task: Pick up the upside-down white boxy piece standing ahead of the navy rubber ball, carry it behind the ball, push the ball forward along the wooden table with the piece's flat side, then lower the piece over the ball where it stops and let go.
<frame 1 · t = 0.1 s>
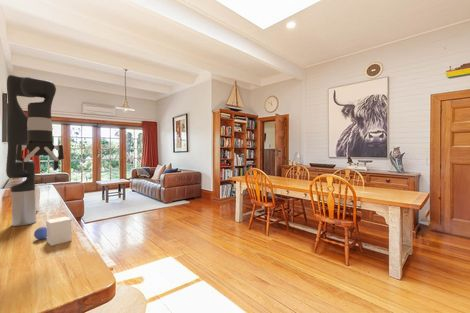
hand: (41, 171, 91), 29 cm above the table, tool pointing down, fingers open, 8 cm apart
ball: (41, 233, 97), on the table
white boxy piece: (59, 241, 94), on the table
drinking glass: (33, 212, 146), on the table
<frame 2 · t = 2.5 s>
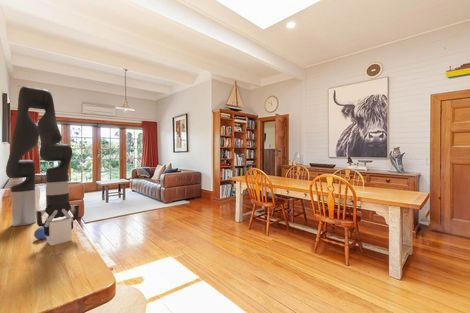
hand: (59, 232, 94), 3 cm above the table, tool pointing down, fingers closed on white boxy piece, 7 cm apart
white boxy piece: (59, 241, 94), on the table, touching gripper
everything else where it was.
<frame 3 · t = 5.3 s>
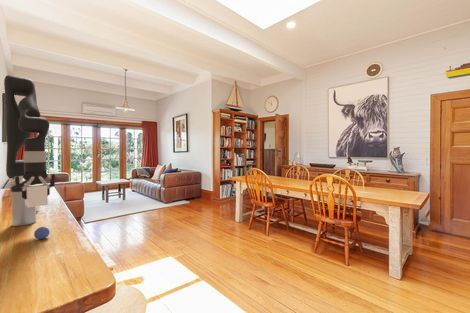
hand: (36, 197, 104), 16 cm above the table, tool pointing down, fingers closed on white boxy piece, 7 cm apart
white boxy piece: (36, 204, 104), point 13 cm above the table, touching gripper
everything else where it was.
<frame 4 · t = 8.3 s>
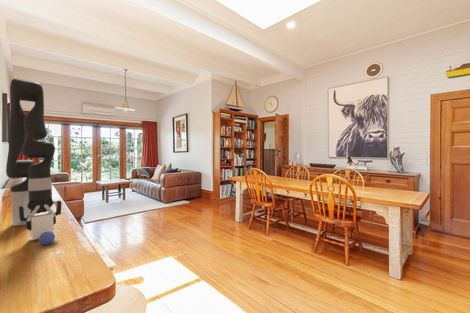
hand: (41, 227, 97), 5 cm above the table, tool pointing down, fingers closed on white boxy piece, 7 cm apart
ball: (46, 238, 91), on the table
white boxy piece: (41, 235, 97), point 1 cm above the table, touching gripper
everything else where it was.
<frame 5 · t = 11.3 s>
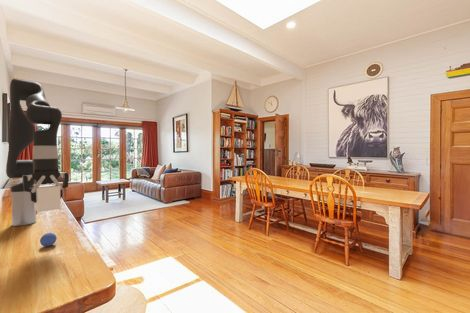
hand: (47, 200, 89), 18 cm above the table, tool pointing down, fingers closed on white boxy piece, 7 cm apart
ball: (48, 239, 89), on the table
white boxy piece: (47, 209, 89), point 14 cm above the table, touching gripper
everything else where it was.
when the fingers open (4 cm above the table, at t = 14.2 s): white boxy piece stays where it is, on the table.
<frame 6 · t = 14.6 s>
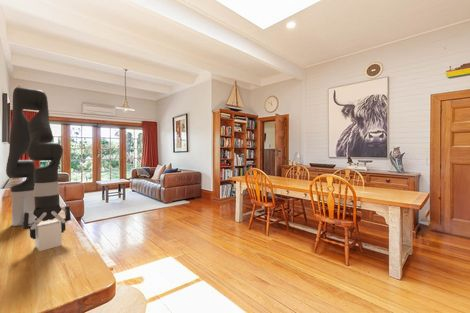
hand: (48, 235, 89), 4 cm above the table, tool pointing down, fingers open, 8 cm apart
white boxy piece: (48, 245, 89), on the table
everything else where it was.
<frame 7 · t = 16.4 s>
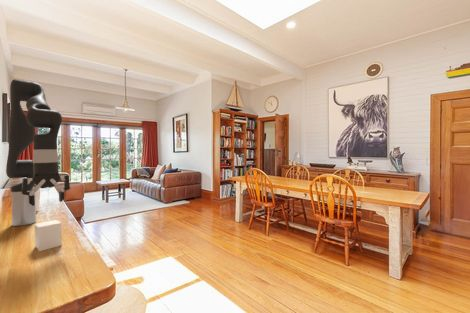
hand: (47, 203, 89), 17 cm above the table, tool pointing down, fingers open, 8 cm apart
nothing on the table moved.
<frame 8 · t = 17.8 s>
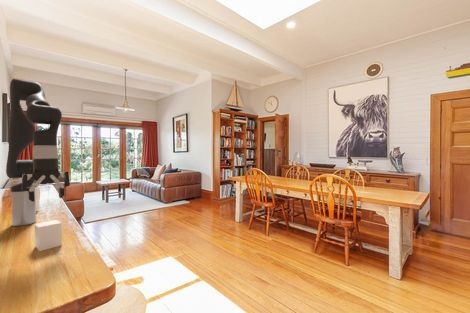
hand: (47, 199, 89), 18 cm above the table, tool pointing down, fingers open, 8 cm apart
nothing on the table moved.
at the end: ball 0.0 cm from the white boxy piece (horizontally); white boxy piece on the table; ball moved 11.9 cm from its start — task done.
